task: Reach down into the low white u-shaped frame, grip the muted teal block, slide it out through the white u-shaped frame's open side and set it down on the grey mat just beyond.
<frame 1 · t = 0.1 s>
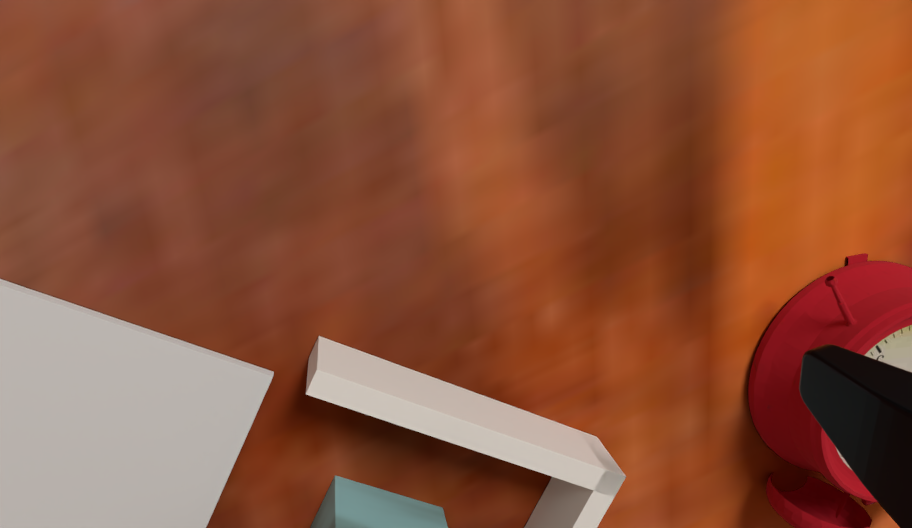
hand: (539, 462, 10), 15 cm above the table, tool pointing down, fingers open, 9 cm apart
alarm clock: (839, 395, 31), on the table
grey mat: (59, 456, 24), on the table
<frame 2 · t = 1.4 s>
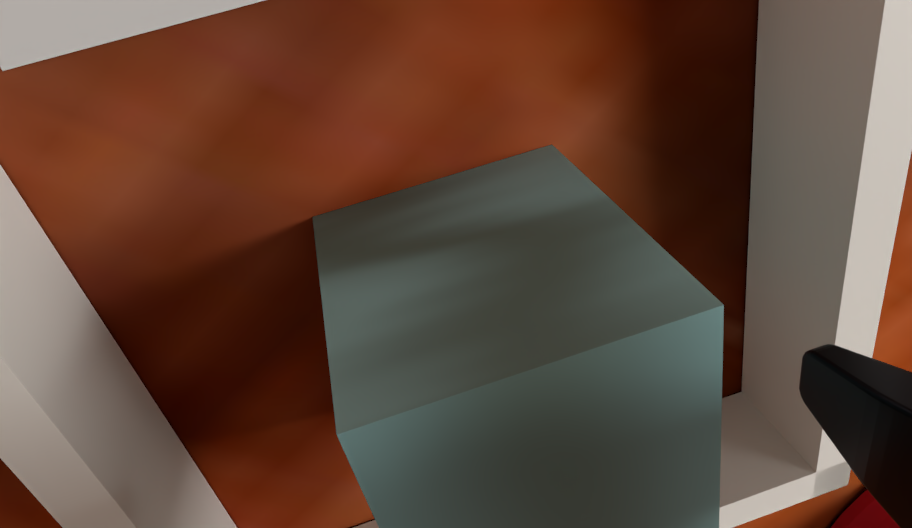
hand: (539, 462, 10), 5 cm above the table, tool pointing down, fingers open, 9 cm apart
white u-shaped frame: (465, 300, 14), on the table
teal block: (459, 280, 14), on the table
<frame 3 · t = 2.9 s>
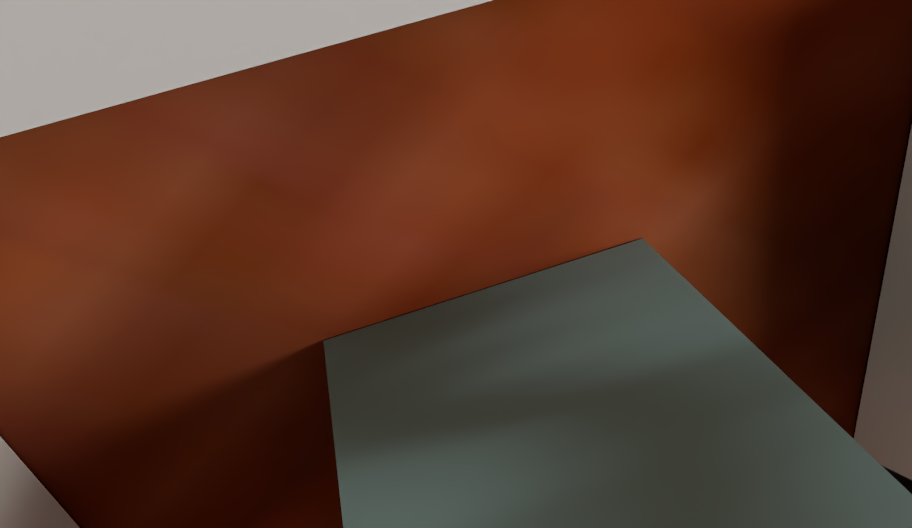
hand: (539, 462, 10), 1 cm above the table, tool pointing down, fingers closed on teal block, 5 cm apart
white u-shaped frame: (518, 428, 11), on the table
teal block: (513, 406, 11), on the table, touching gripper
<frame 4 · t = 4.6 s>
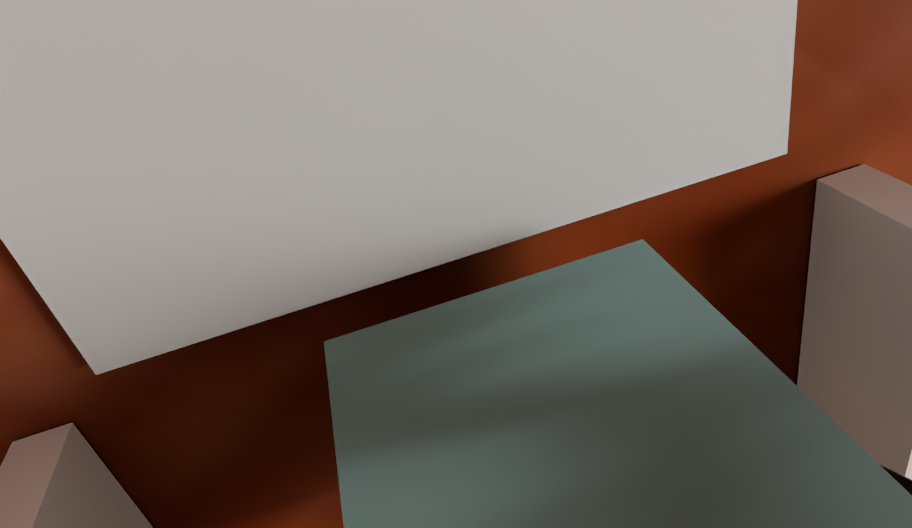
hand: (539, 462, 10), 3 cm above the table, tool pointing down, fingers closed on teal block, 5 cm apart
white u-shaped frame: (519, 503, 15), on the table
teal block: (513, 407, 11), point 2 cm above the table, touching gripper
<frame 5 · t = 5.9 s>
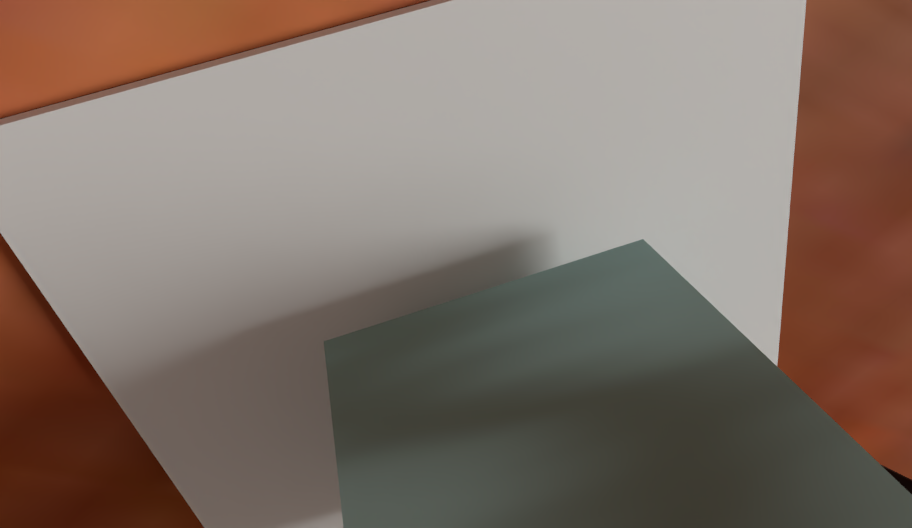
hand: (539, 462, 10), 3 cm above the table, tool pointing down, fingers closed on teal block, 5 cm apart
grey mat: (481, 340, 12), on the table
teal block: (513, 407, 11), point 2 cm above the table, touching gripper
when the fingers open (2 cm above the table, at t = 6.8 s): teal block stays where it is, resting on grey mat.
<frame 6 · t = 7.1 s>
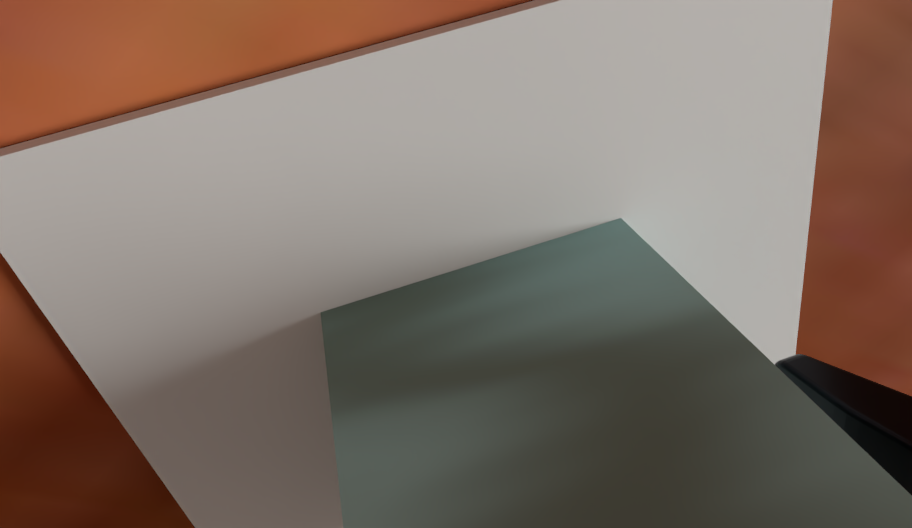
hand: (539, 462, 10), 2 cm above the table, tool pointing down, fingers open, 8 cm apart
grey mat: (494, 363, 12), on the table
teal block: (500, 378, 11), resting on grey mat
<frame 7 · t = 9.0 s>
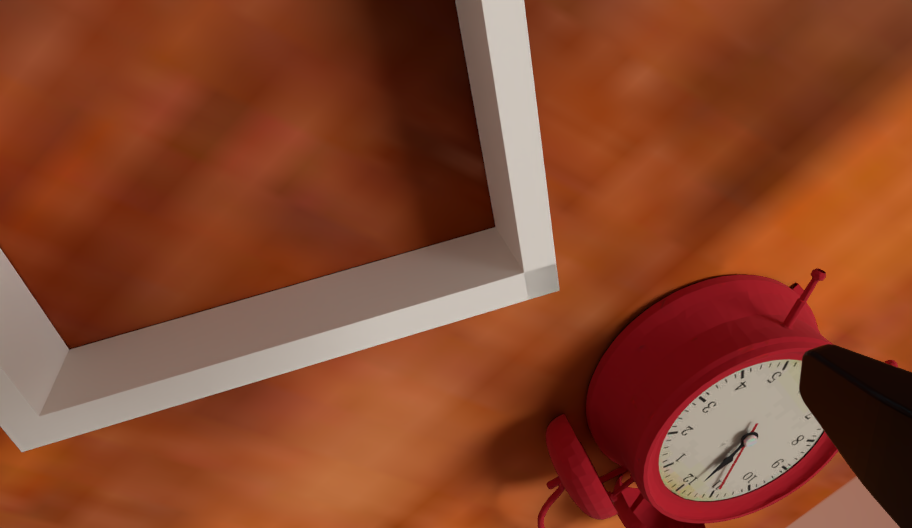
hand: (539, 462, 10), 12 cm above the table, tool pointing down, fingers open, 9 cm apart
white u-shaped frame: (217, 109, 17), on the table
alarm clock: (663, 395, 28), on the table
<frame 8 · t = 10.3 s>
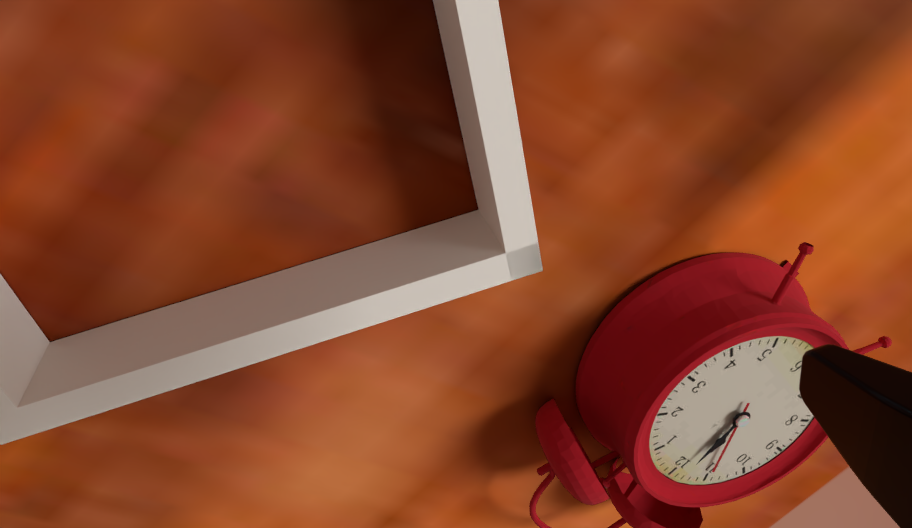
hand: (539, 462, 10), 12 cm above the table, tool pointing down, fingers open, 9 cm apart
white u-shaped frame: (190, 93, 17), on the table
alarm clock: (655, 379, 28), on the table
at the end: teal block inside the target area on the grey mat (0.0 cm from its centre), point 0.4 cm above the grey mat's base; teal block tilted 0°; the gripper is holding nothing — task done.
